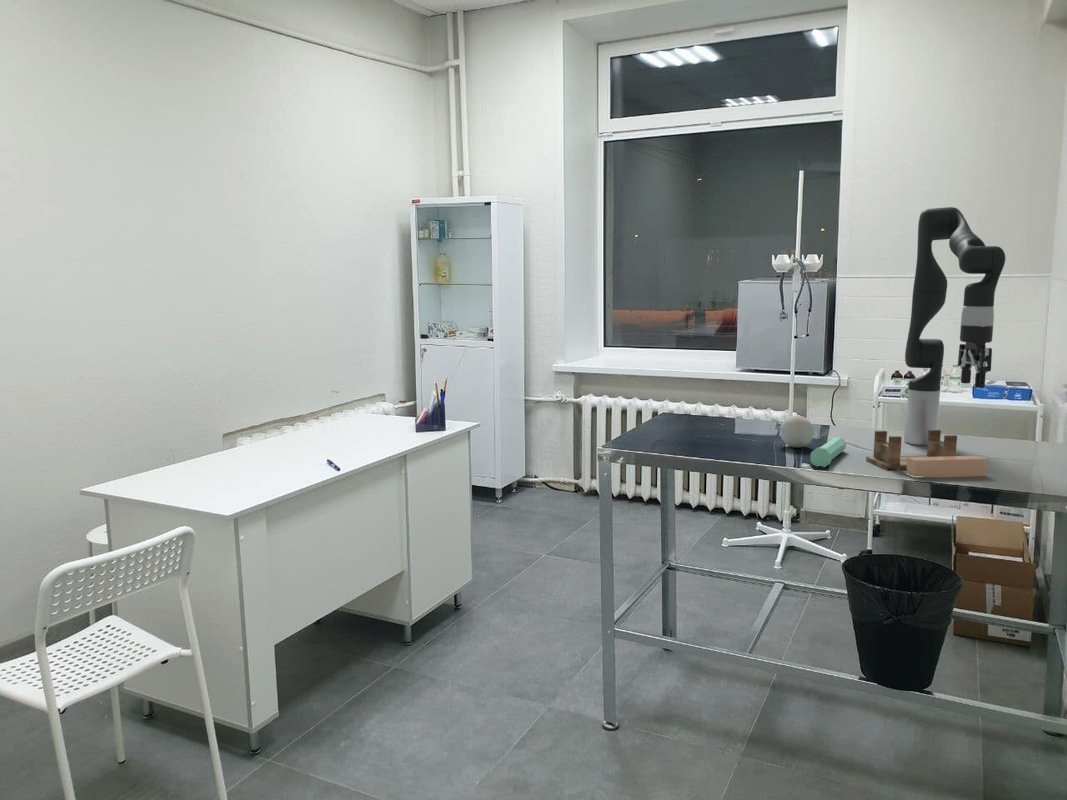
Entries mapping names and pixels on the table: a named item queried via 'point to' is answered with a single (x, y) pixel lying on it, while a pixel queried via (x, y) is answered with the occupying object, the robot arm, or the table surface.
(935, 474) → the tan rectangular block
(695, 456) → the table surface
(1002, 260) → the robot arm
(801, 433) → the grey ball
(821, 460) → the mint green octagonal prism
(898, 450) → the rack
